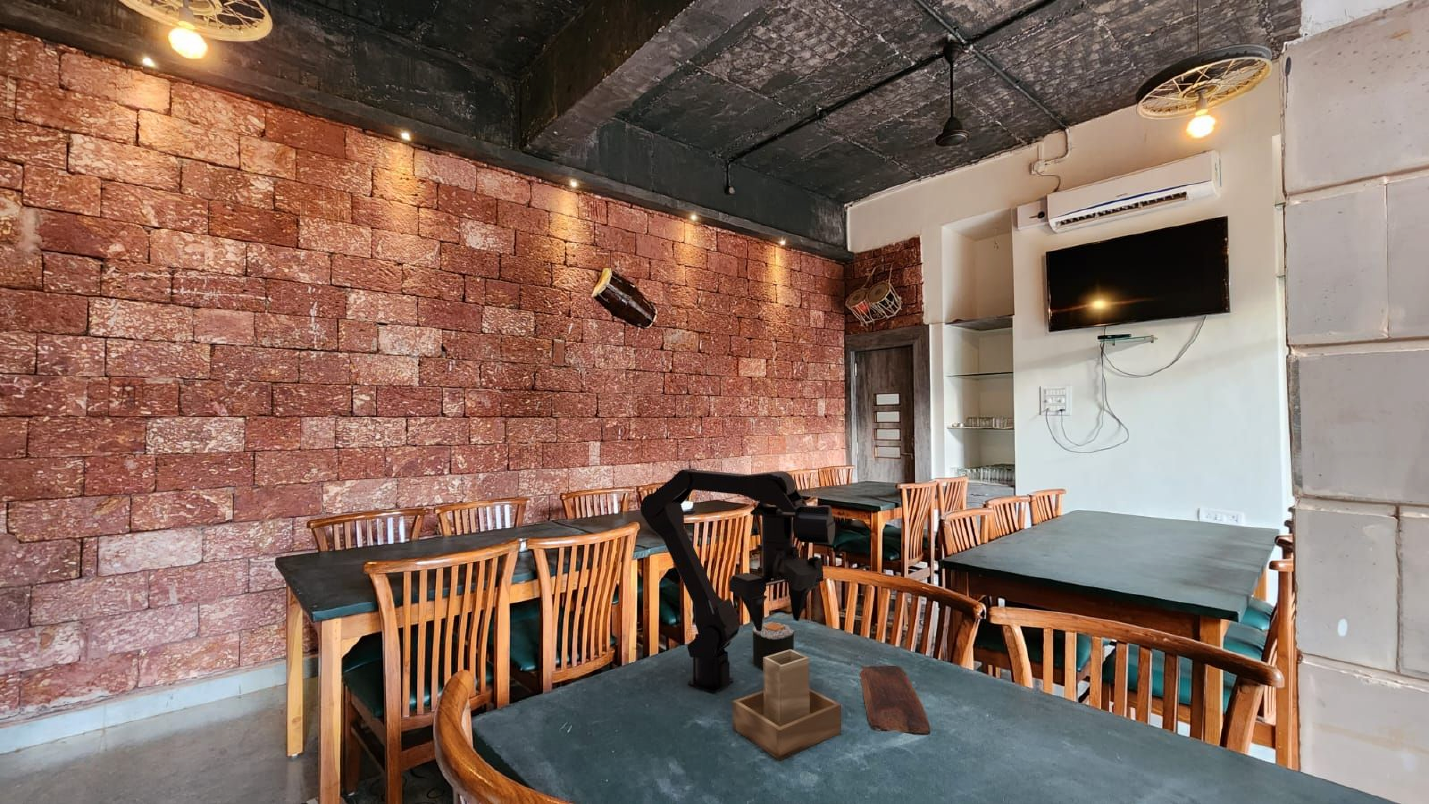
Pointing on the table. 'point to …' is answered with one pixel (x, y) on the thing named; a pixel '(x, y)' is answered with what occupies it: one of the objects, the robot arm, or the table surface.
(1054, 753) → the table surface
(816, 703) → the oak crate
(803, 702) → the birch crate
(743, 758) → the table surface
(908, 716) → the wooden tablet
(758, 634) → the sushi
